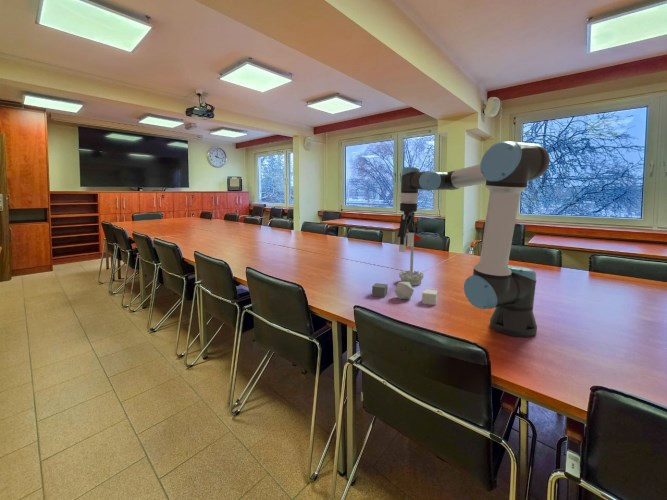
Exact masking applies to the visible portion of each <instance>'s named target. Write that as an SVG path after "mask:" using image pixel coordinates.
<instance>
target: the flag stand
mask: <svg viewBox="0 0 667 500" xmlns="http://www.w3.org/2000/svg"><path fill="white" fill-rule="evenodd" d="M422 239H423V238H422V237H421V236H419V235H417V234H416V233H414V239H413V247H411V246H410V256H409V257H410V263H409V270H408V269H407V270H405V272H404V271H402V270H401V271H399V274H398V275H399V277H398V278H400V282H409V283H410V284H411V286H419V285H421V284H422V280H423V279H424V278H425V277H424V272H423V271H422V272H419V271H418V270H414V251H415V250H414V249H415V248H414V247H415V246H414V244H415V243H416V242H418V241H419V240H422Z"/></svg>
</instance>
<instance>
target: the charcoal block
mask: <svg viewBox="0 0 667 500" xmlns="http://www.w3.org/2000/svg"><path fill="white" fill-rule="evenodd" d="M371 287H372V289H371V294H372V297H377V298H385V297H386V296H387V295H388V284H387V283H377V282H376V283H374V284H373V285H372V286H371Z"/></svg>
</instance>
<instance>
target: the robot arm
mask: <svg viewBox="0 0 667 500" xmlns="http://www.w3.org/2000/svg"><path fill="white" fill-rule="evenodd" d="M550 158H551V157H550V155H549V152H548V151H547V149H546V148H545V147H544V146H543V145H540V144H537V143H533V142H532V143H531V142H520V141H510V140H509V141H500V142H497V143H494V144H492V145H491V146H490V147H489V148H488V149H487V150H486V151H485V152H484V154H483V156H482V158H481V161H480V164H476V165H473V166H468V167H463V168H459V169H455V170H451V171H431V170H429V171H428V170H427V171H420V168H419V167H417V166H405V167H403V168H402V169H401V176H400V178H401V179H400V181H401V182H400V194H399V197H400V204H399V211H400V212H403V214H401V216H400V223H399V227H398V228H399V229H398V232H397V233H398V234H397V238H399V239H398V241H399V242H398V252H402V253H406V246H407V247H410V248H411V247H413V239H414V234H416V231H417V230H416V223H415V221H416V220H415V214H416V213H415V212H417V211H418V200H419V198H418V197H419V190H422V191H438V190H439V191H440V190H442V191H443V190H444V191H445V190H446V191H447V190H448V191H455V190H459V189H461V188H466V187H471V186H477V185H484V184H485V187H486V188H487V190H488V191H489V195H488V201H487V207H486V216H485V221H484V222H485V223H484V229H483V235H482V242H481V251H480V256H479V257H480V258H479V262H478V263H477V264H474V265H473V270H472V271H473V272H472V275H470V276H468V277H467V278H466V279H465V281H464V283H463V292H464V295H465V298H467V300H468V302H469V303H470V304H471V305H472V306H473V307H475V308H477V309H480V310H490V309H491V310H492V309H494V310H493V312H492V315H491V317H490V318H489V327H490V328H491V329H492V330H494V331H496V332H498V333H500V334H503V335H507V336H510V337H511V336H512V337H520V338H527V337H529V338H530V337H533V336H535V335H536V334H537V331H538V325H537V322H536V317H535V314H534V304H535V303H534V301H535V294H536V284H537V272H536V270H533V269H531V268H528V267H523V266H517V265H516V266H515V265H509V260H510V254H511V249H512V244H513V243H512V242H513V237H514V231H515V226H516V220H517V219H516V218H517V214H518V208H519V202H520V196H521V193H522V192H524V191H525V190H526V189H528V182H529V181H534V180H537V179H538V178H540V177H542V176H543V175H544V174H545V173H546V171H548V168H549V166H550V162H551V161H550V160H551V159H550ZM407 231H408V232H407ZM406 234H407V237H406ZM406 241H407V242H406Z"/></svg>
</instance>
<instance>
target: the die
mask: <svg viewBox="0 0 667 500" xmlns="http://www.w3.org/2000/svg"><path fill="white" fill-rule="evenodd" d="M414 292H415V289H414V287H413V285H411V284H410V283H409V282H401V281H399V282H397V284H396V287H395V289H394V293H395V294H396V296H397V298H398V300H411V297H412V295H413V294H414Z"/></svg>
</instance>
